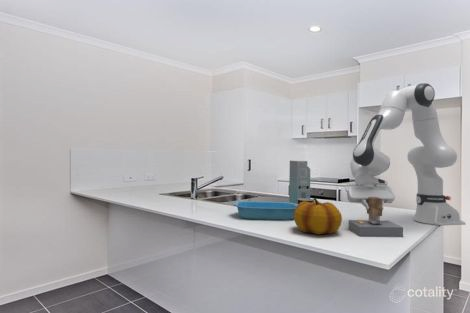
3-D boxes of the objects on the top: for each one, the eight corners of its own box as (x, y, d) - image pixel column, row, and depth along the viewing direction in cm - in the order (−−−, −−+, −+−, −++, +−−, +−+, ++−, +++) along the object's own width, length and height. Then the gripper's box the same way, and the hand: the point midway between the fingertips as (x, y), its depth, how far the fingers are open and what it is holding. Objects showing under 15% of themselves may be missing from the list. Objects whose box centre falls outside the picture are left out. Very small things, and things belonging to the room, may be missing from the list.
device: (309, 213, 178) (310, 161, 178) (296, 213, 177) (297, 161, 177) (300, 208, 194) (301, 160, 194) (288, 208, 194) (289, 160, 193)
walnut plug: (375, 221, 139) (376, 196, 138) (381, 224, 133) (382, 198, 132) (366, 221, 139) (367, 196, 138) (372, 224, 133) (373, 198, 132)
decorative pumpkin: (294, 236, 128) (294, 200, 127) (293, 224, 149) (293, 193, 149) (345, 239, 124) (345, 202, 124) (336, 226, 146) (337, 195, 146)
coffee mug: (310, 220, 159) (311, 201, 158) (294, 218, 163) (295, 199, 163) (317, 216, 168) (318, 198, 168) (302, 215, 173) (302, 197, 173)
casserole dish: (297, 213, 179) (297, 201, 179) (305, 222, 156) (305, 208, 156) (233, 212, 179) (233, 200, 179) (232, 220, 157) (232, 206, 157)
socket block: (387, 229, 142) (387, 219, 142) (402, 236, 129) (403, 225, 129) (348, 228, 142) (348, 218, 142) (359, 236, 129) (359, 225, 129)
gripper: (345, 180, 142) (353, 204, 133) (390, 180, 142) (401, 205, 133) (342, 188, 147) (349, 213, 137) (385, 189, 147) (395, 214, 137)
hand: (375, 209), depth 135 cm, fingers closed on walnut plug, 4 cm apart
